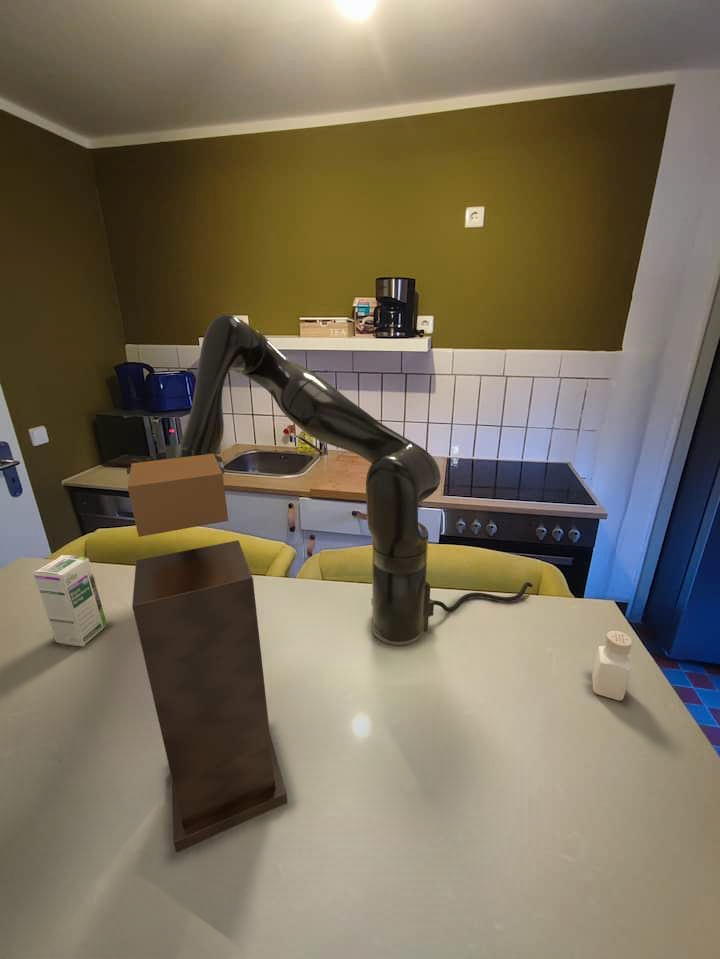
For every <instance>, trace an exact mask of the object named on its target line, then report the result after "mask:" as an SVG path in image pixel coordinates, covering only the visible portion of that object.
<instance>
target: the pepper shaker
mask: <svg viewBox="0 0 720 959" xmlns="http://www.w3.org/2000/svg"><path fill="white" fill-rule="evenodd" d="M604 640H605V641H604V643H603V645H599V646H598V648H597V652H596V656H595V661H594V665H593V668H592V674H591V680H592V681H591V682H592V691H593V693H594V694H596V695H599V696H602V697H605V698H609V699H612V700H615V701H623V700H624V698H625V694H626V691H627V687H628V685H629V684H628V683H629V680H630V676H631V672H632V661H631V657H630V654H631V650H632V646H633V640H632V637H631V636H629V635H628V634H626V633H624V632H622V631H619V630H610V631H607V633H606V636H605V639H604Z"/></svg>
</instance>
